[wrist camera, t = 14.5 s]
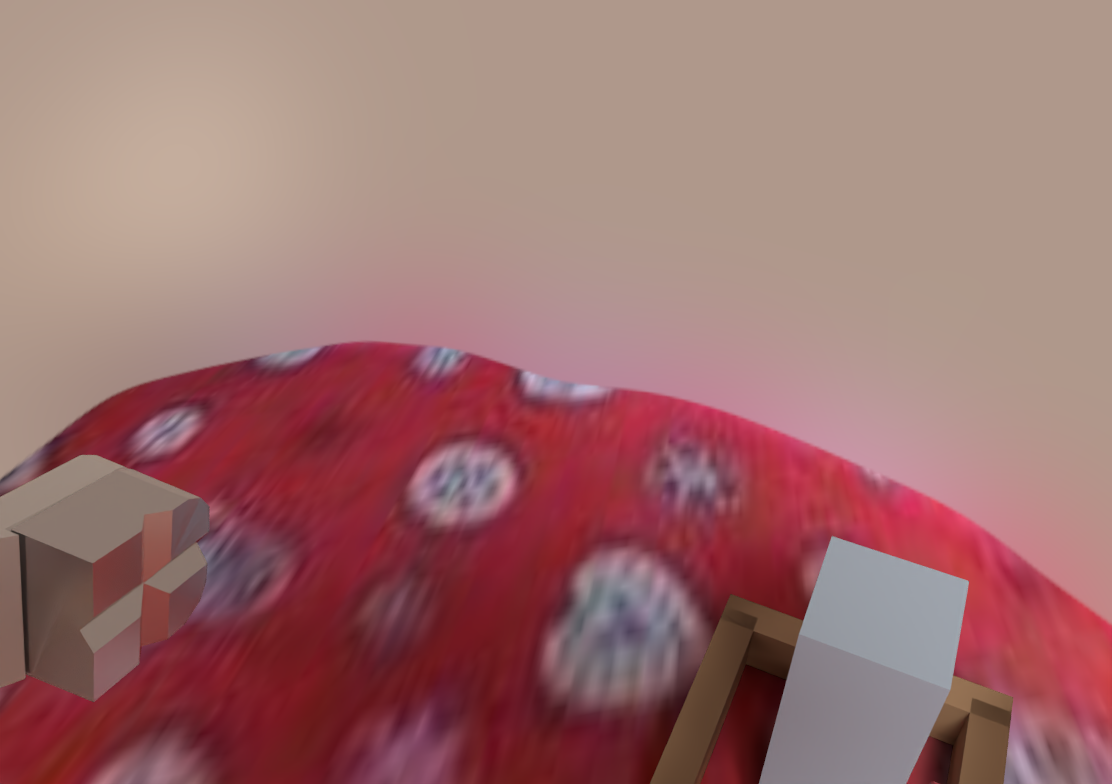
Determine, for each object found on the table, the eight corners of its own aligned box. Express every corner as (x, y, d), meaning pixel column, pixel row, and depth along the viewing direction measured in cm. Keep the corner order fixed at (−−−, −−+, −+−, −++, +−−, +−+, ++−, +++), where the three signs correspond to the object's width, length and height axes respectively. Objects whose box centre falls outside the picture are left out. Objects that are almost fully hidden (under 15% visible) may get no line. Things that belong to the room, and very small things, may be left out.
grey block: (749, 818, 36) (798, 634, 28) (780, 724, 39) (832, 536, 31) (865, 870, 34) (950, 690, 27) (887, 768, 37) (968, 581, 30)
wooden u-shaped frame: (633, 845, 35) (636, 814, 33) (724, 627, 43) (730, 594, 41) (960, 1003, 31) (981, 976, 29) (994, 730, 38) (1013, 697, 37)
